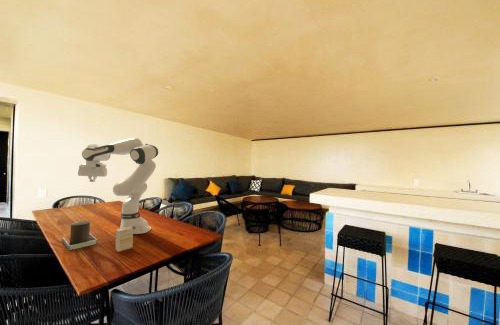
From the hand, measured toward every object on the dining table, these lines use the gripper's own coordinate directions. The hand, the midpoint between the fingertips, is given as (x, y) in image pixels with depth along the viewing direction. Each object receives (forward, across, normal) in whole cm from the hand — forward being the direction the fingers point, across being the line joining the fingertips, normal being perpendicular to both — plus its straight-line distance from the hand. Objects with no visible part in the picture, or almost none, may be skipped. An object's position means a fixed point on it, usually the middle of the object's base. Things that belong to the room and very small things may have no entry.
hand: (92, 181), depth 161 cm
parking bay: (+37, +12, -28) cm, 48 cm away
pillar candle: (+37, +14, -30) cm, 50 cm away
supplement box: (+37, +46, -38) cm, 70 cm away
